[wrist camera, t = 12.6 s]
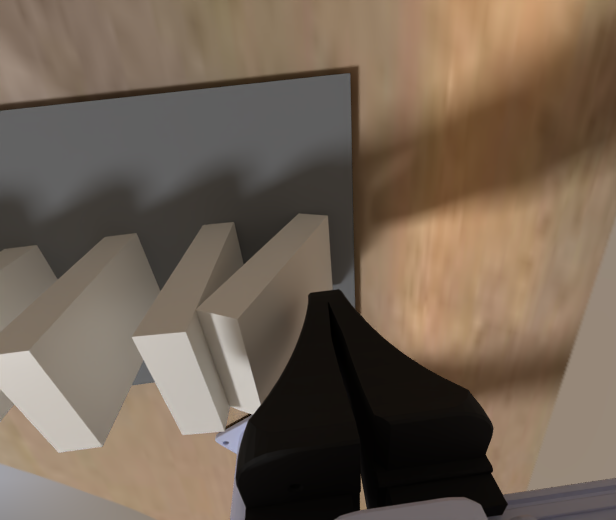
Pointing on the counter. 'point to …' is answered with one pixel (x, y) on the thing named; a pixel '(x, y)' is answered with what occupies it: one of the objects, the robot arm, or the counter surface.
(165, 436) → the counter surface
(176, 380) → the domino
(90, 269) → the domino
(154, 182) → the mat
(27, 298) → the domino
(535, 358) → the counter surface
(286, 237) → the domino
